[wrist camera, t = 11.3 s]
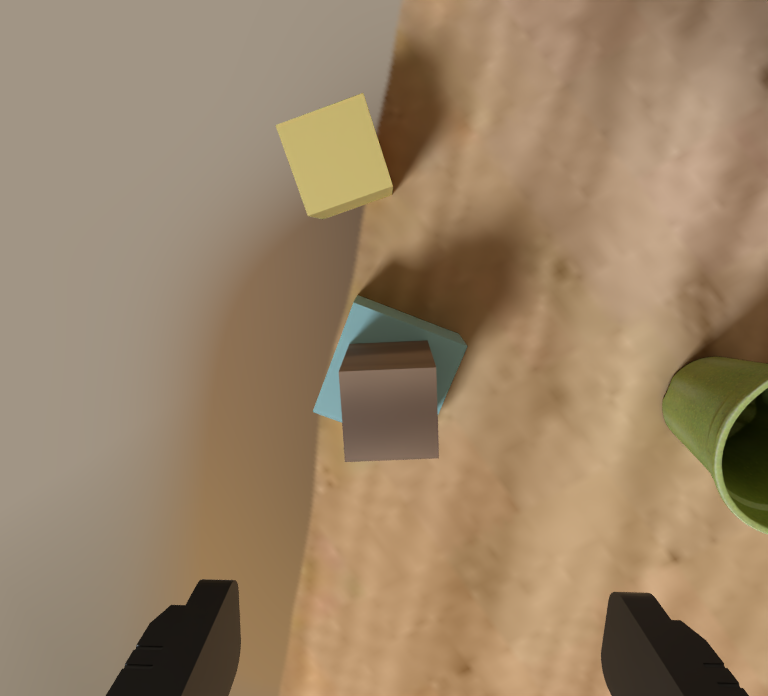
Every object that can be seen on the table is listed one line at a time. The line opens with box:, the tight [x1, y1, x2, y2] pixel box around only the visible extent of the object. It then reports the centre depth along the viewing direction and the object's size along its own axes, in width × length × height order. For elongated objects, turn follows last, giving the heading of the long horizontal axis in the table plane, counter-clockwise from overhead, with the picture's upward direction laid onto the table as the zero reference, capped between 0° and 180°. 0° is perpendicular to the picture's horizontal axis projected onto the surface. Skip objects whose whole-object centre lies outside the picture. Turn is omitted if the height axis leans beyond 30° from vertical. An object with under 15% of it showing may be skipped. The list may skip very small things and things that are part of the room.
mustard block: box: [276, 93, 393, 219], centre depth 28 cm, size 4×4×6 cm
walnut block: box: [339, 340, 439, 462], centre depth 27 cm, size 4×4×6 cm
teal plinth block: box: [313, 295, 467, 422], centre depth 32 cm, size 7×7×4 cm
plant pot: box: [662, 357, 768, 534], centre depth 30 cm, size 9×9×9 cm
